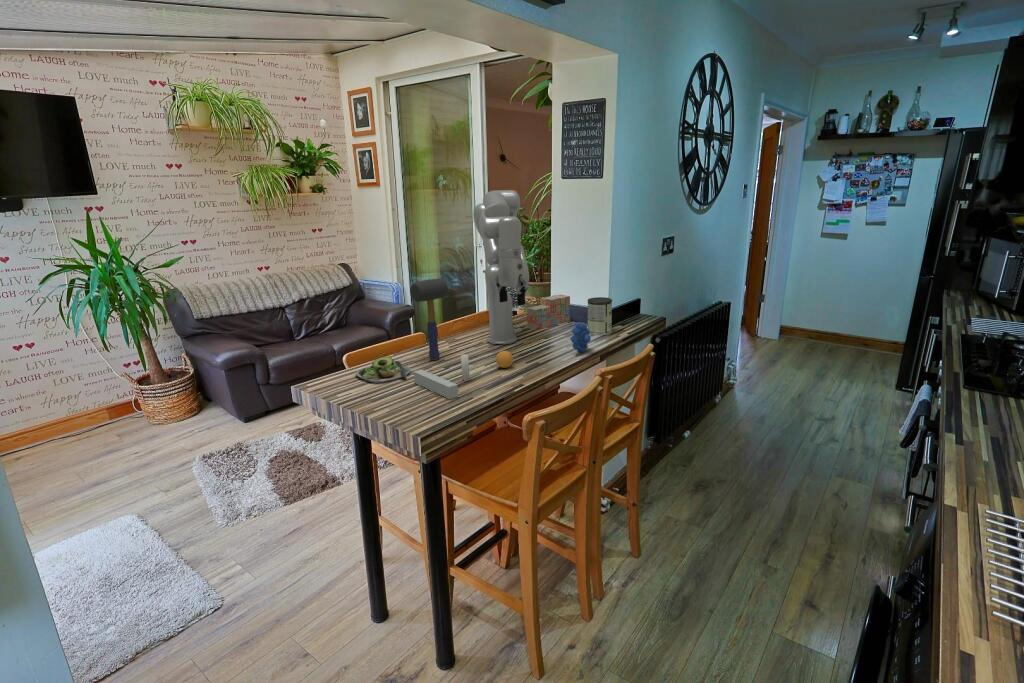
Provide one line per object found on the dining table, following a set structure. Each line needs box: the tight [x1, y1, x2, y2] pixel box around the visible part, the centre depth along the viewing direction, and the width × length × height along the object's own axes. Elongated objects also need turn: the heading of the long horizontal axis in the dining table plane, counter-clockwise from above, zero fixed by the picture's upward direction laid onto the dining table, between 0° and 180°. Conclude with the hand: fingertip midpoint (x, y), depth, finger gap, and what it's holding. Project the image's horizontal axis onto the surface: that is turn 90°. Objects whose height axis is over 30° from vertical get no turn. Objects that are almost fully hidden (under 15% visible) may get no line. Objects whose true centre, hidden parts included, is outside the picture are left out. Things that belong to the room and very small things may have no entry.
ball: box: [495, 350, 514, 369], centre depth 183 cm, size 6×6×6 cm
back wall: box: [413, 369, 459, 400], centre depth 165 cm, size 3×20×4 cm, turn 42°
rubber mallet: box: [409, 278, 449, 361], centre depth 191 cm, size 12×8×30 cm, turn 133°
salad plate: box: [355, 355, 412, 384], centre depth 180 cm, size 19×18×5 cm
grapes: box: [570, 321, 591, 354], centre depth 195 cm, size 12×7×12 cm, turn 141°
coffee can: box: [587, 296, 613, 336], centre depth 222 cm, size 10×10×14 cm
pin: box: [460, 353, 470, 381], centre depth 172 cm, size 2×2×8 cm
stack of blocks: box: [526, 294, 571, 331], centre depth 237 cm, size 21×6×12 cm, turn 130°
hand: (512, 303), depth 185 cm, fingers open, 9 cm apart
